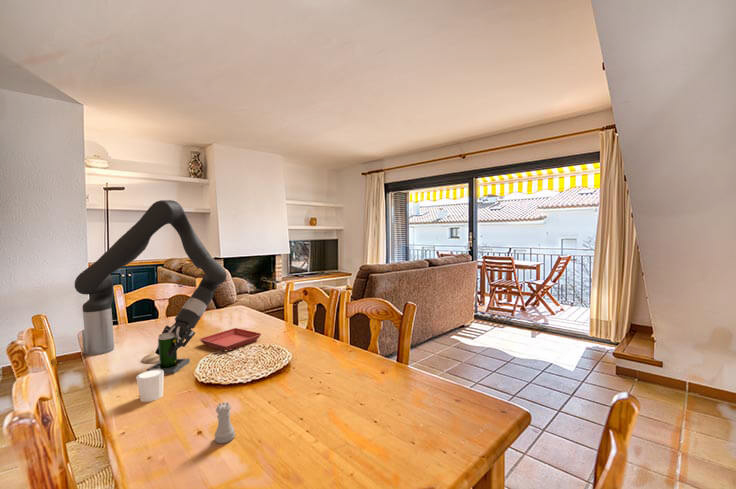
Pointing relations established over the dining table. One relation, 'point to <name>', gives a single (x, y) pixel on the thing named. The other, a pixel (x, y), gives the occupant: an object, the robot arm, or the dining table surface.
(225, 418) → the rook chess piece
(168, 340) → the beer can
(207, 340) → the plant saucer
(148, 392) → the white tapered cylinder
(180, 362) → the collar
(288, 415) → the dining table surface
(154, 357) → the coaster
